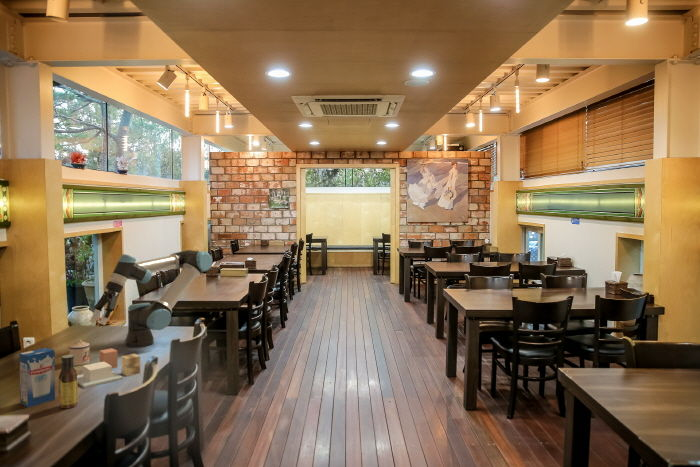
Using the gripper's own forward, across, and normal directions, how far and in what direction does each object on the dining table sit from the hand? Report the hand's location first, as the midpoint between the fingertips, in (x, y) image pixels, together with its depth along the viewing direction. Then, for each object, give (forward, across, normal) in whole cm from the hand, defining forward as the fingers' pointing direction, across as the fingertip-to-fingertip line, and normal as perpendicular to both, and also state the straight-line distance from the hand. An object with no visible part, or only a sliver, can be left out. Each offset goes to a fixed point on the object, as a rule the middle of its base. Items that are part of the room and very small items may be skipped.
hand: (97, 323), depth 240 cm
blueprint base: (+24, +23, +3) cm, 33 cm away
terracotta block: (+18, +9, +11) cm, 23 cm away
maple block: (+17, +25, +15) cm, 34 cm away
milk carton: (+37, +34, -19) cm, 54 cm away
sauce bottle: (+35, +47, -12) cm, 60 cm away
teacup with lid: (+20, -8, +4) cm, 21 cm away
